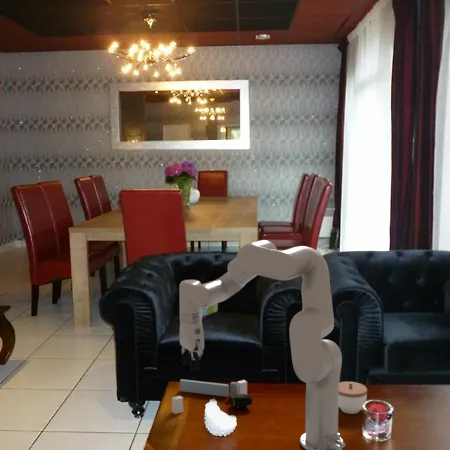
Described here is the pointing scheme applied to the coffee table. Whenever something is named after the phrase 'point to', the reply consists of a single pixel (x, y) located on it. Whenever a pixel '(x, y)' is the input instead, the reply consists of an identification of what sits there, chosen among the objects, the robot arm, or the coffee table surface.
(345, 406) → the lidded jar
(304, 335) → the robot arm
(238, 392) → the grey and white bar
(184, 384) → the long grey bar
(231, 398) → the tape measure
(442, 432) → the coffee table surface
